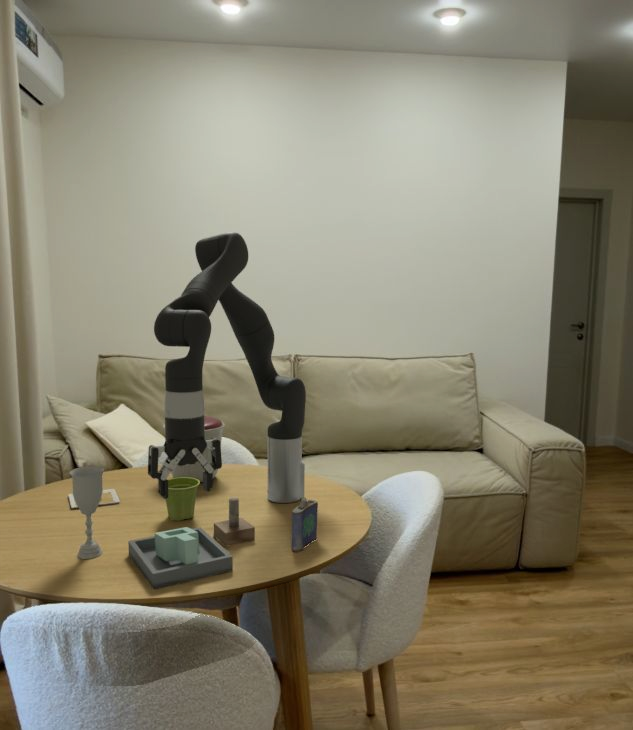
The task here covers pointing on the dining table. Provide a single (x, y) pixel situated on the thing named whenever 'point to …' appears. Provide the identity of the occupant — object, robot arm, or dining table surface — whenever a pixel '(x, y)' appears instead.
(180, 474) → the canister
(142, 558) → the tray
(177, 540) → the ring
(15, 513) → the dining table surface
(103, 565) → the dining table surface
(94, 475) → the chalice
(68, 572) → the dining table surface
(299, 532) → the flask
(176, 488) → the plant pot
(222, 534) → the brown peg stand
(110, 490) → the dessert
